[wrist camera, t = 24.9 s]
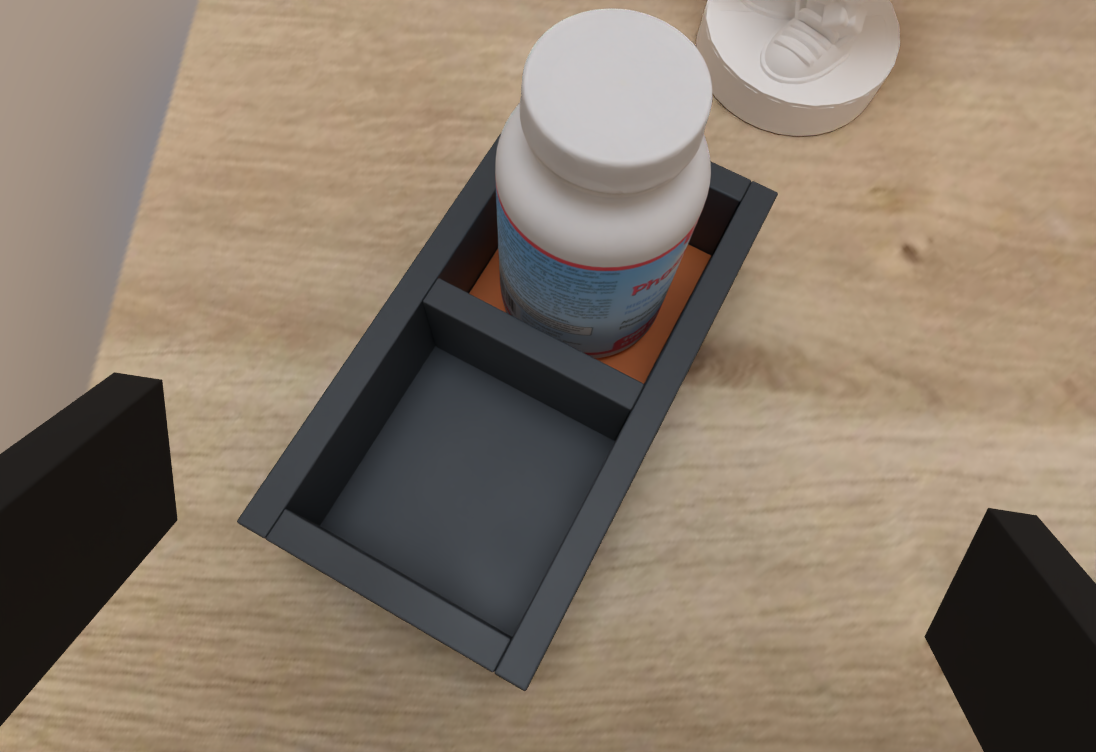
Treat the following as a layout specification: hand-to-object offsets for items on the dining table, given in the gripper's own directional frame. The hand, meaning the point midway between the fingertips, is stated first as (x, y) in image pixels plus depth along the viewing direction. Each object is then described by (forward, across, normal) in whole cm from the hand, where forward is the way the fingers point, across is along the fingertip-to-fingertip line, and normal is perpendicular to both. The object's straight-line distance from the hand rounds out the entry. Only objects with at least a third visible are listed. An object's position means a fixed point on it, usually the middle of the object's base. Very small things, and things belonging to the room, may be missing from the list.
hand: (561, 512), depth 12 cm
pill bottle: (+17, 0, -2) cm, 17 cm away
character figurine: (+28, +8, +7) cm, 30 cm away
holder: (+15, -1, -6) cm, 16 cm away
